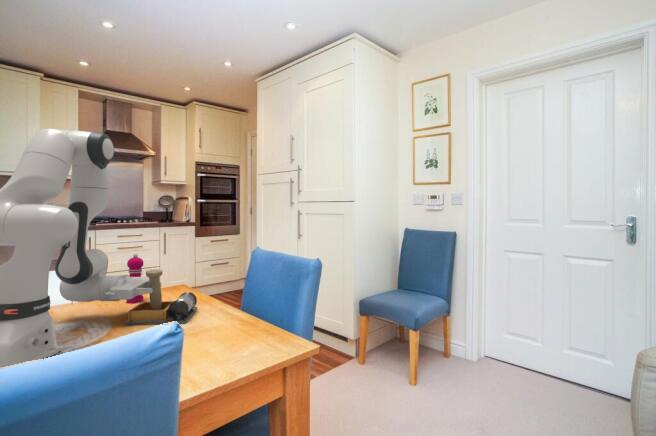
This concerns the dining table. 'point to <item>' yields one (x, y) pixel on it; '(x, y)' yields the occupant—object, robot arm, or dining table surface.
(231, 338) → the dining table surface
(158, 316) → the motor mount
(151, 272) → the handle
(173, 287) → the dining table surface
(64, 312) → the dining table surface
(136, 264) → the pepper mill
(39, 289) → the robot arm
